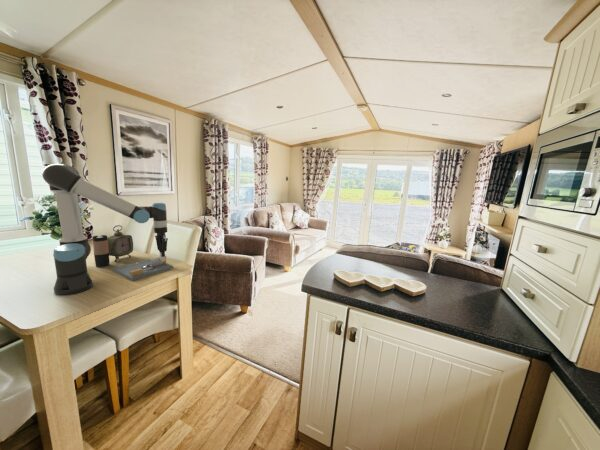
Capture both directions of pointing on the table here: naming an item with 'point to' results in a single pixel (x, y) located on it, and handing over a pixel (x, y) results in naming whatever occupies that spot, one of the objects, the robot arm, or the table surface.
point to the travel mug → (101, 251)
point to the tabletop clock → (120, 244)
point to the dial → (154, 263)
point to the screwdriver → (138, 271)
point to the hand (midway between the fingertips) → (162, 260)
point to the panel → (137, 265)
